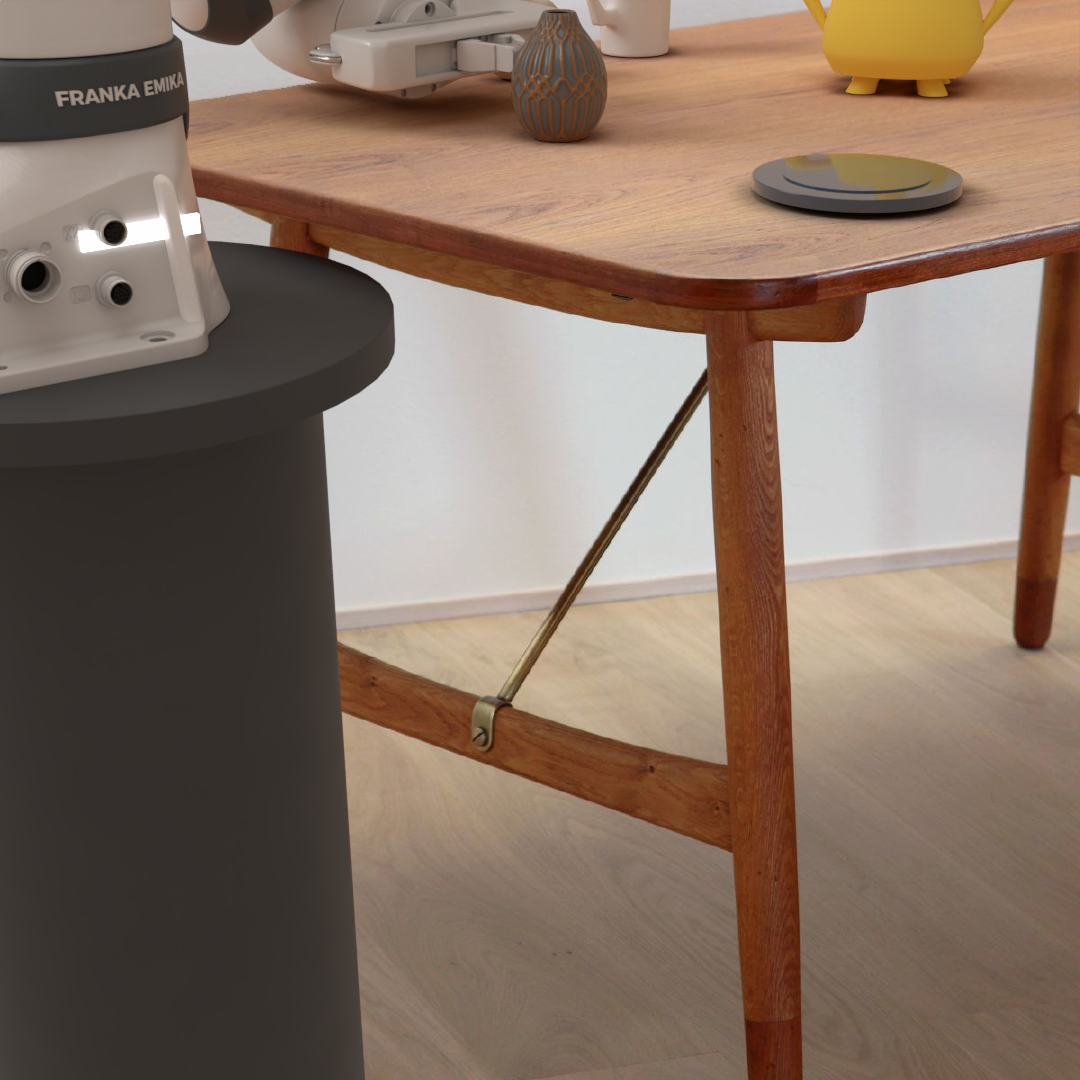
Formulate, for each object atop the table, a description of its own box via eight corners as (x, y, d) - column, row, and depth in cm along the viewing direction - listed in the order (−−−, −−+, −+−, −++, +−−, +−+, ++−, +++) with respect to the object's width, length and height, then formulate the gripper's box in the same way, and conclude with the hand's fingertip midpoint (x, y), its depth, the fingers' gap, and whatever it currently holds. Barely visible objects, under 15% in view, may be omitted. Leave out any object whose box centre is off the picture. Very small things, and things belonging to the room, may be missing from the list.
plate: (880, 231, 100) (881, 209, 100) (708, 195, 109) (709, 174, 108) (1002, 193, 109) (1004, 172, 108) (834, 162, 117) (835, 143, 116)
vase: (515, 147, 122) (513, 19, 118) (508, 128, 128) (506, 5, 125) (612, 145, 123) (614, 17, 119) (600, 126, 129) (601, 3, 125)
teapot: (1026, 90, 141) (1043, -63, 136) (895, 108, 134) (908, -52, 129) (907, 66, 152) (919, -77, 147) (780, 82, 145) (788, -67, 140)
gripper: (293, 10, 127) (417, 29, 118) (495, -16, 140) (621, -1, 131) (298, 98, 129) (421, 123, 120) (497, 64, 142) (621, 84, 133)
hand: (527, 58), depth 126 cm, fingers closed, pressing on vase
